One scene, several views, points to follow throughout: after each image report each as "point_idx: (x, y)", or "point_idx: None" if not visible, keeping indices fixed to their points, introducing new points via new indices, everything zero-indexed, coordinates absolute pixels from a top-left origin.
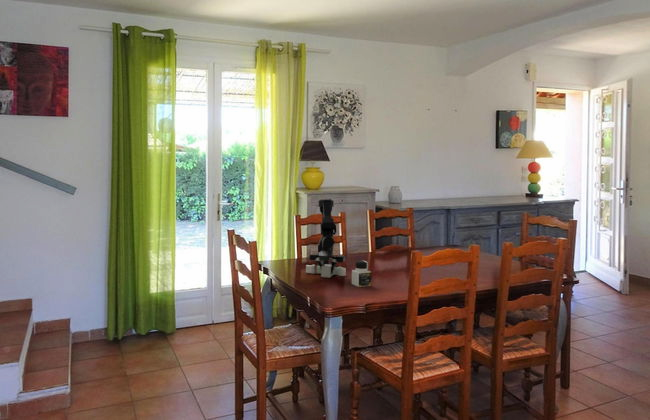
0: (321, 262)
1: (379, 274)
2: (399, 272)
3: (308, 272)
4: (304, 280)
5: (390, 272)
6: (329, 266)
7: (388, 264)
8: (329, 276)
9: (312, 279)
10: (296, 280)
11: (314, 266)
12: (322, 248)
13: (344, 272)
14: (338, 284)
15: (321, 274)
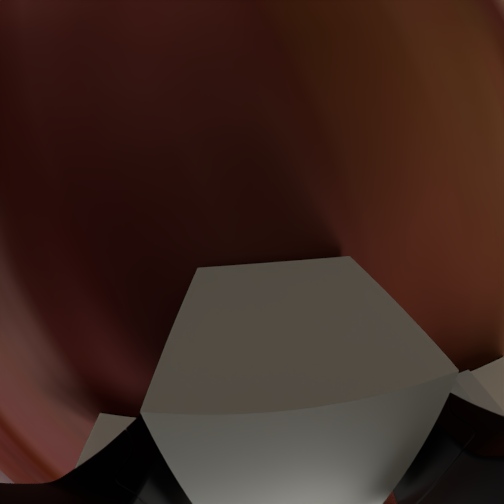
0: (481, 491)
1: (10, 452)
2: (6, 472)
3: (492, 366)
4: (453, 9)
5: (20, 476)
6: (201, 465)
7: None
8: (196, 273)
9: (411, 66)
10: (498, 13)
11: None
12: None
13: (90, 441)
14: (7, 16)
15: (361, 271)
